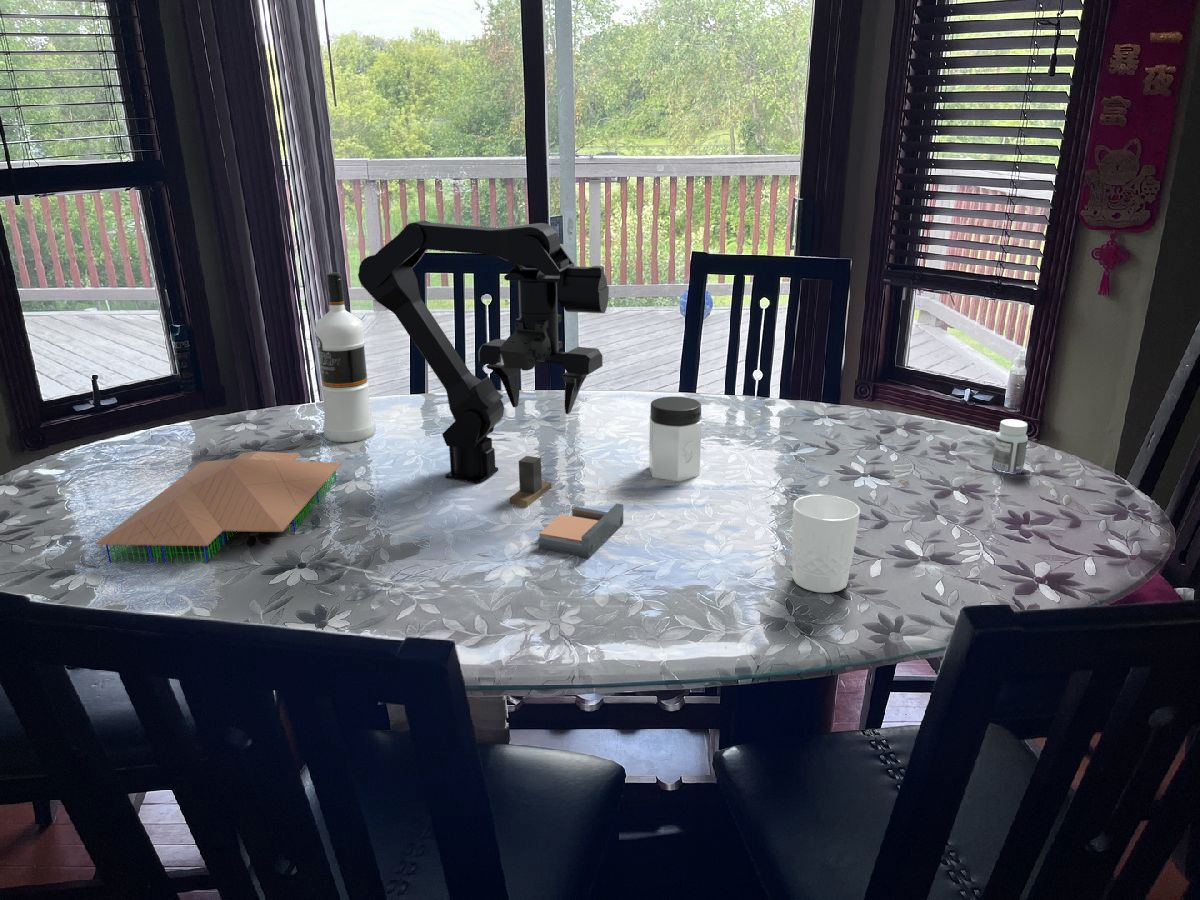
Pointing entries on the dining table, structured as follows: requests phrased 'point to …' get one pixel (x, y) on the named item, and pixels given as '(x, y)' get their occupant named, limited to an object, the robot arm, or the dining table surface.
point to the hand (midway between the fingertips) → (541, 410)
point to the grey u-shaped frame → (592, 537)
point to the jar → (675, 438)
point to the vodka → (343, 370)
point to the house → (224, 503)
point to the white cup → (823, 541)
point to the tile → (568, 527)
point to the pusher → (530, 482)
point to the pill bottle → (1010, 446)
